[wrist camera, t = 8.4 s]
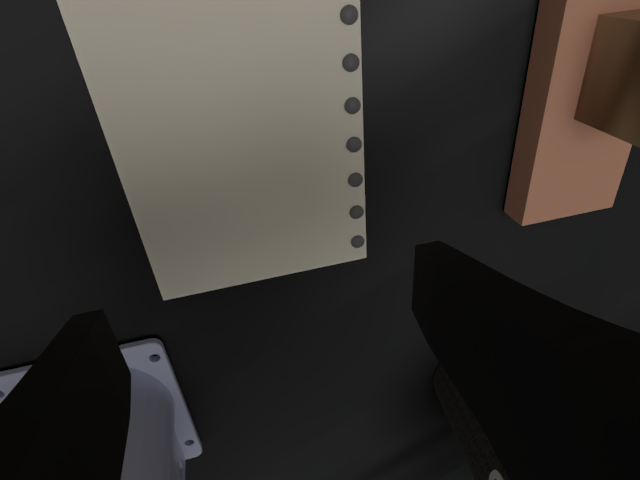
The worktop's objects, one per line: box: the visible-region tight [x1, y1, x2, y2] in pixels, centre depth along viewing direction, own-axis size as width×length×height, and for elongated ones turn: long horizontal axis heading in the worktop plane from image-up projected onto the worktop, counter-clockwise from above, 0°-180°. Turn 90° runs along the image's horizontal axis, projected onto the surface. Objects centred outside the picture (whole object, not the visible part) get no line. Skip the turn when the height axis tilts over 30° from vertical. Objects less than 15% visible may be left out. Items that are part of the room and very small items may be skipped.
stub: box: [504, 0, 640, 226], centre depth 17 cm, size 14×5×6 cm, turn 5°
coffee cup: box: [433, 364, 509, 480], centre depth 23 cm, size 10×10×15 cm
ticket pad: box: [56, 0, 366, 301], centre depth 16 cm, size 14×9×2 cm, turn 5°
